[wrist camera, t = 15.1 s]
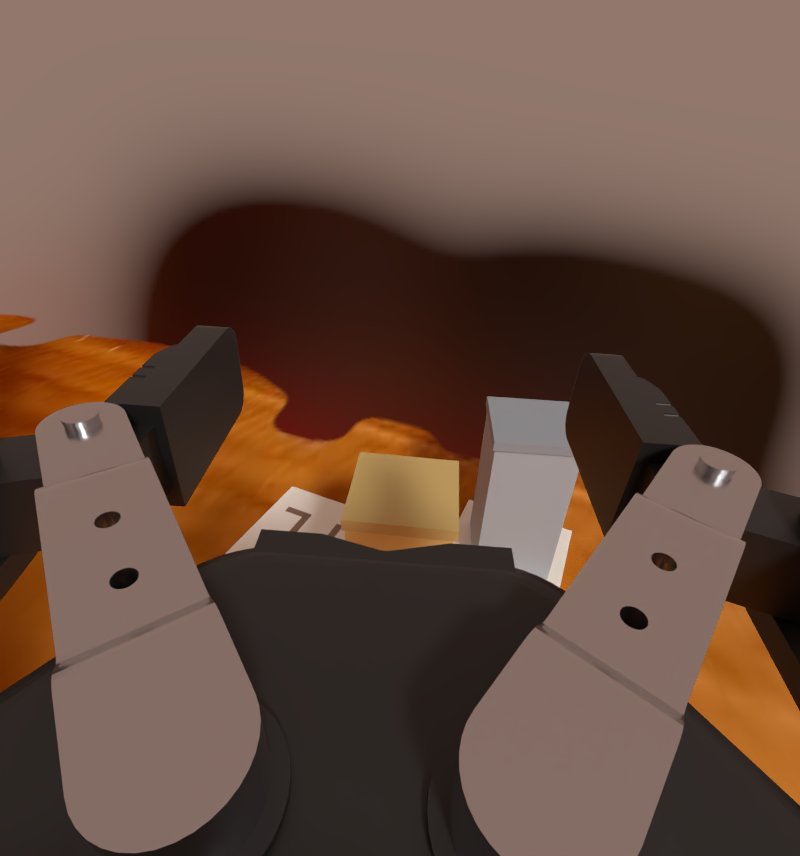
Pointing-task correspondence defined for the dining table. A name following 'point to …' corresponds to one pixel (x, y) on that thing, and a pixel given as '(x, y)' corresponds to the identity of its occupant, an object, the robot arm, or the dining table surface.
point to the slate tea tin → (523, 481)
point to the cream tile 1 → (297, 517)
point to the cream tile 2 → (559, 555)
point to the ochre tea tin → (402, 502)
